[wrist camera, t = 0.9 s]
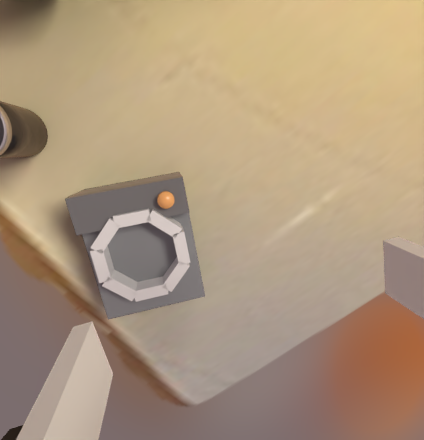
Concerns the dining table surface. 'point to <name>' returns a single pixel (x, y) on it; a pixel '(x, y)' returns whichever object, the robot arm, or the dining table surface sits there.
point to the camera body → (139, 243)
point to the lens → (20, 132)
